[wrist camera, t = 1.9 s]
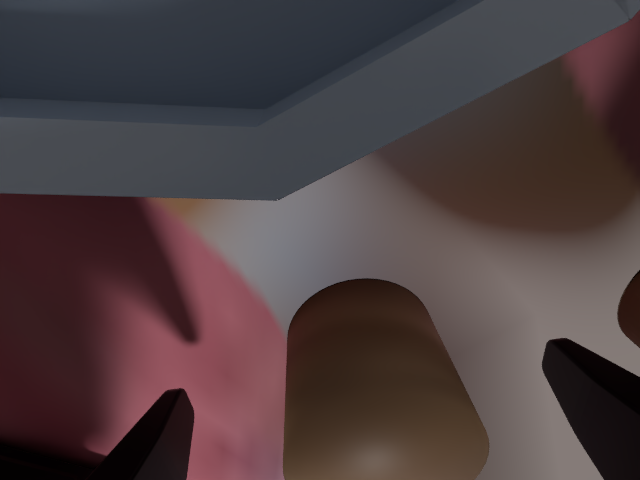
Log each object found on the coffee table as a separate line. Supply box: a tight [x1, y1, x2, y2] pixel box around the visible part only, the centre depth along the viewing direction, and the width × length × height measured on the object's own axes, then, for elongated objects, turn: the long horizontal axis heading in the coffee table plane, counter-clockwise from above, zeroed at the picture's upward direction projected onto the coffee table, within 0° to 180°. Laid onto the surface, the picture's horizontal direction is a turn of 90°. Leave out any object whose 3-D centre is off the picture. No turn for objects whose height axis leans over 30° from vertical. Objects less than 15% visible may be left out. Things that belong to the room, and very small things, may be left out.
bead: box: [283, 278, 489, 480], centre depth 9 cm, size 4×4×4 cm
